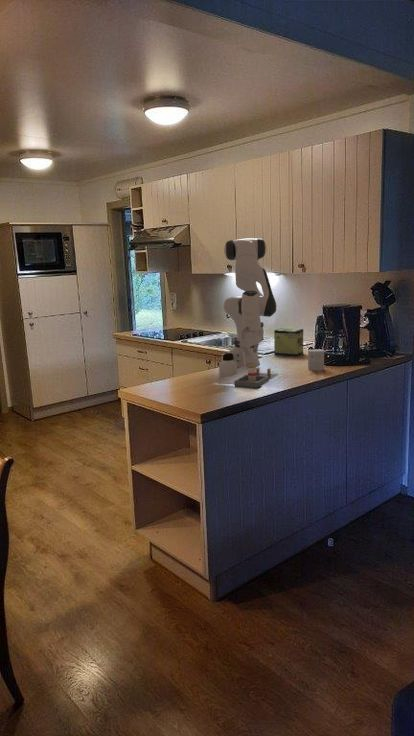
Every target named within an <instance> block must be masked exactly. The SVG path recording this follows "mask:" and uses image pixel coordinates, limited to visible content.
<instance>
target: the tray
mask: <svg viewBox="0 0 414 736" xmlns="http://www.w3.org/2000/svg"><path fill="white" fill-rule="evenodd" d="M267 382H269V376H257V375H256V382H248V374H245V375H243V376H241V377H239V378H238V379H235V380H234V388H241V389H243V388H244V389H251V390H252V389H253V390H259V389H261V388H262V385H263V384H266V383H267Z"/></svg>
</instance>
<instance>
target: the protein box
mask: <svg viewBox="0 0 414 736" xmlns="http://www.w3.org/2000/svg"><path fill="white" fill-rule="evenodd" d="M273 331H274V332H273V333H274V338H273V340H274V342H273V343H274V349H273V351H274V352H273V353H274V356H287V357H298V356H301V355H303V354H304V329H303V328H283V327H281V328H278V329H275V330H273Z"/></svg>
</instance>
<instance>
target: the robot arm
mask: <svg viewBox="0 0 414 736" xmlns="http://www.w3.org/2000/svg"><path fill="white" fill-rule="evenodd" d="M223 250H224V255H225V257H226V259H228V261H229V260H230V261H235V266H234V271H235V285H236V287H237V288H238V289H239V290H241V291H244V292H242V295H233V296H230V297H227V298H226V299H225V300H224V302H223V311H224V313H225V314H226V315H228V316H229V317H230V318H231V319H232V320H233V322H234V324H235V327H236V340H235V341H233V345H234V346H233V347H232V348H231V349H230V350H229V351H227V352H226V353H232V354H233V360H234V361H233V362H236V364H237V368H242V367H248V366H247V364H256V367H257V366H260V365H261V363H260V360H259V353H258V352H259V351H258V349H259V345H260V344H259V343H261V342H262V341H263V339H264V328H265V327H264V325H265V324H264V323H265V322H263V321H261V317H268V318H269V317H272V316H273V315H274V314H275V313H276V312H277V302H276V299H275V296H274V294H273V291H272V286H271V283H270V280H269V277H268V274H267V271H266V269H265V268H264V267H263V266H261V265H260V263H259V260H260V259H262V258H264V257H265V255H266V254H267V253H266V252H267V245H266V241H265V240H264V239H263V238H259V237H258V238H253V237H251V238H250V237H249V238H240V239H230V240H227V241H226V243H225V245H224V248H223ZM257 283H258V284H259V285H260V287H261V290H262V293H261V292H260V289H259V287H258V284H257ZM220 363H222V361H221V362H220Z"/></svg>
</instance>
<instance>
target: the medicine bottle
mask: <svg viewBox="0 0 414 736" xmlns="http://www.w3.org/2000/svg"><path fill="white" fill-rule="evenodd" d="M233 361H234V360H233V354H232V353H227V352H224V353H222V354H221V362H222V363H221V362H219V363H218V373H219V376H220V377H219V378H221V377H224V376H225V377H226V376H227V377H233V376H235V375H237V373H238V372H237V371H238V370H237V368H238V367H237V364H236V362H233Z"/></svg>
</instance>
